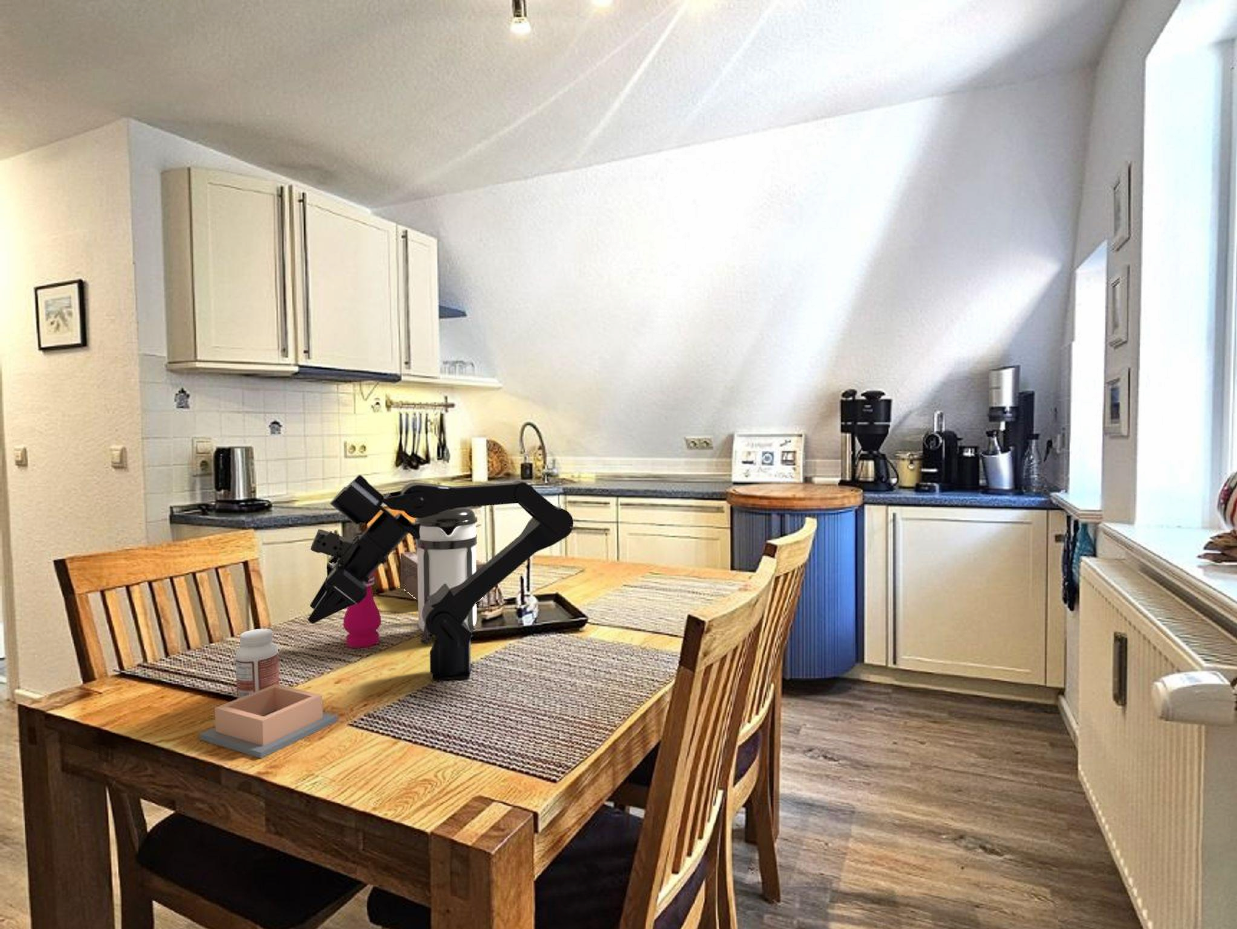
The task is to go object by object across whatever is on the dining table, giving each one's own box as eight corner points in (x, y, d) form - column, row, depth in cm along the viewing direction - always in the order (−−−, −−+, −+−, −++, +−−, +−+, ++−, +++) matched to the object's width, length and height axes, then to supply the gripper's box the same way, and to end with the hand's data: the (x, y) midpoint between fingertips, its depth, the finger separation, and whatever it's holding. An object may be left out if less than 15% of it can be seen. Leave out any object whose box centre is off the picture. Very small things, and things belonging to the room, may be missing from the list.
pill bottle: (279, 690, 117) (278, 625, 117) (279, 703, 112) (277, 635, 111) (237, 696, 115) (235, 630, 114) (235, 710, 109) (233, 640, 108)
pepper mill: (369, 649, 138) (367, 549, 137) (336, 647, 139) (333, 548, 138) (388, 638, 145) (386, 543, 144) (356, 636, 146) (354, 542, 145)
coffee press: (501, 629, 151) (500, 492, 150) (446, 650, 138) (444, 499, 136) (444, 617, 161) (443, 488, 159) (388, 635, 147) (385, 494, 145)
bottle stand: (338, 721, 105) (337, 693, 105) (261, 758, 93) (260, 727, 93) (278, 705, 111) (277, 679, 110) (198, 739, 99) (197, 709, 99)
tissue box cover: (401, 589, 189) (400, 552, 189) (453, 583, 197) (452, 548, 196) (427, 611, 167) (426, 570, 167) (485, 603, 175) (484, 563, 174)
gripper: (339, 505, 125) (275, 573, 122) (339, 519, 108) (265, 598, 105) (387, 544, 129) (326, 611, 125) (395, 564, 111) (325, 641, 108)
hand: (311, 614), depth 116 cm, fingers open, 9 cm apart
